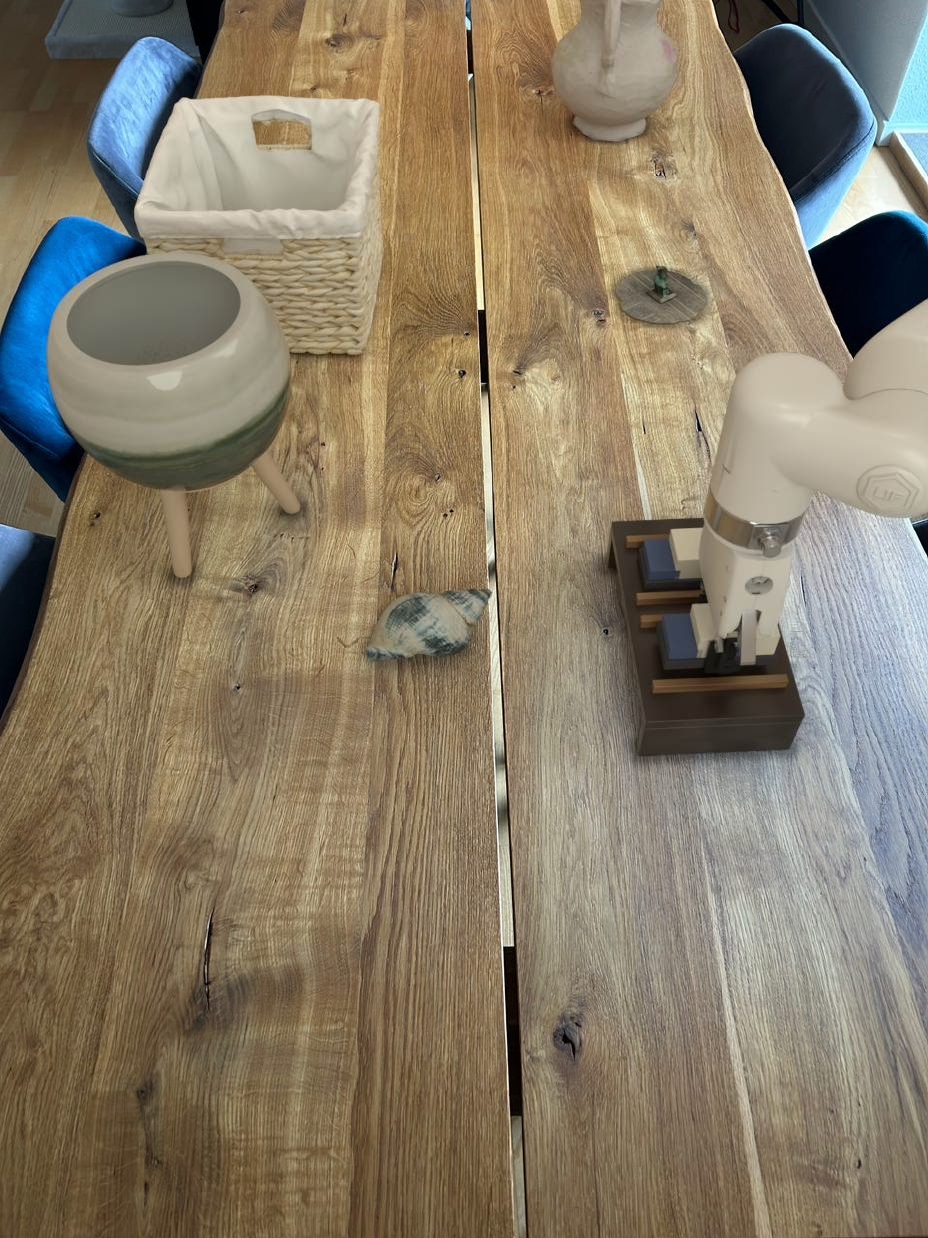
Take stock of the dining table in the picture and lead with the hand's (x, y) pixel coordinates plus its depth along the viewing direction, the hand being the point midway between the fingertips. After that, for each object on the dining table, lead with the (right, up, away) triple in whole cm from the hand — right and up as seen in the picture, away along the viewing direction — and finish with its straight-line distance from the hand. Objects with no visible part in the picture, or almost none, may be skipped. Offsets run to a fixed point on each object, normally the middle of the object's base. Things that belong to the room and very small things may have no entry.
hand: (716, 644), depth 92 cm
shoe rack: (0, -1, +9) cm, 9 cm away
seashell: (-26, 0, +10) cm, 28 cm away
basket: (-46, +45, +45) cm, 79 cm away
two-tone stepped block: (-1, +7, +7) cm, 10 cm away
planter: (-50, +13, +21) cm, 56 cm away
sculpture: (+4, +46, +45) cm, 64 cm away
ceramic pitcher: (+1, +82, +73) cm, 109 cm away
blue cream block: (0, 0, 0) cm, 0 cm away
